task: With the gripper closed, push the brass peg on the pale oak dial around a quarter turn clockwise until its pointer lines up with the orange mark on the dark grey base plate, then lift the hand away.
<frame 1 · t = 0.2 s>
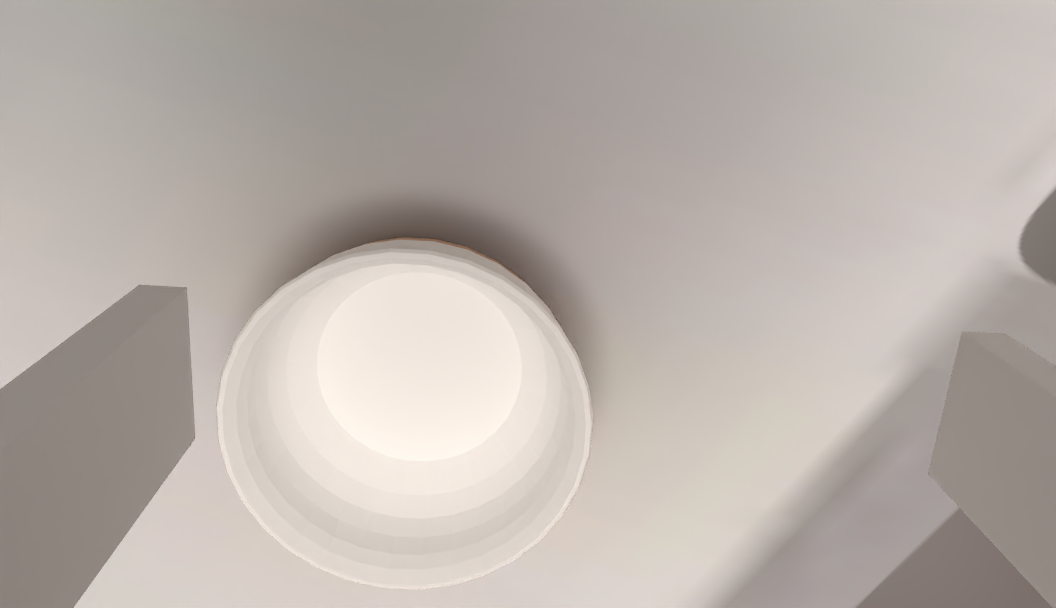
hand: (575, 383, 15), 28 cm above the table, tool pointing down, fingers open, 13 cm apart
bowl: (422, 360, 45), on the table
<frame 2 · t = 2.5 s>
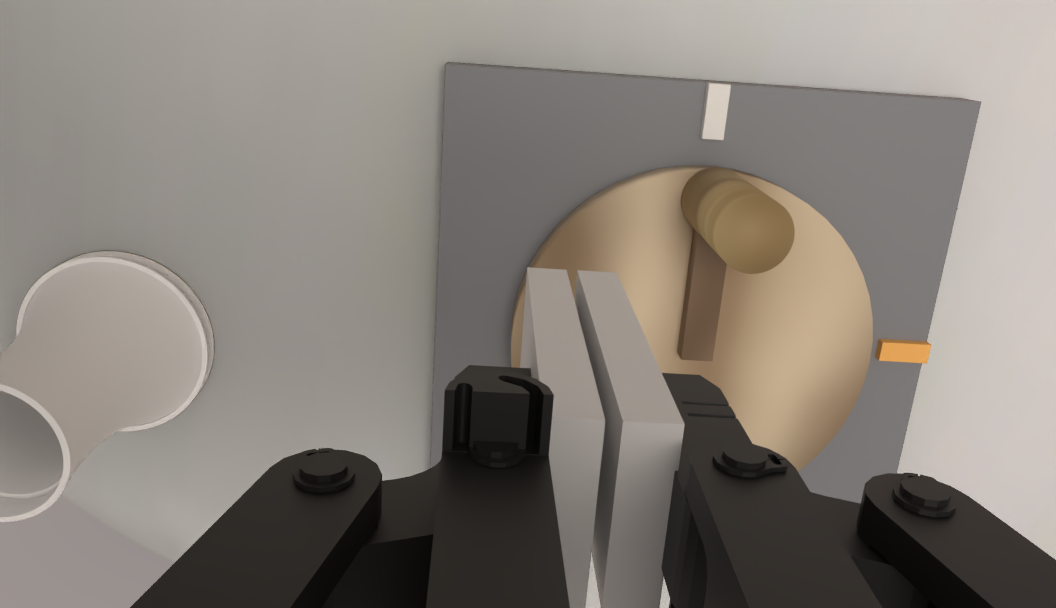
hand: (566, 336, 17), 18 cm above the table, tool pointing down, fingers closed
dial base: (676, 324, 37), on the table
vase: (124, 336, 36), on the table
dial: (704, 370, 32), point 5 cm above the table, hinge at 0.0°
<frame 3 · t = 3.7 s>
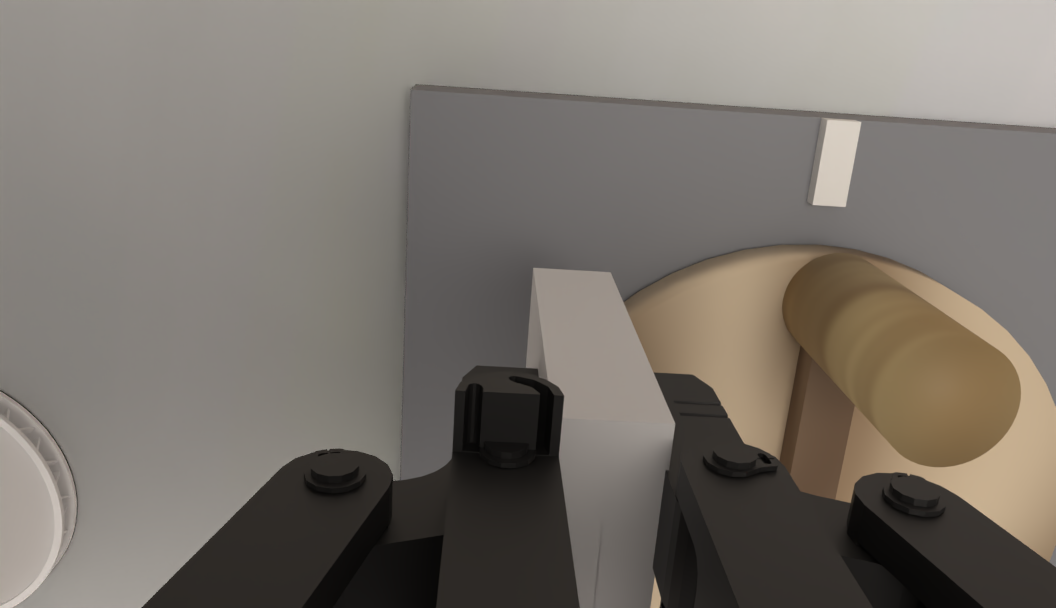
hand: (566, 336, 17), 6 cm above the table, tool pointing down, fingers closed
dial base: (755, 465, 25), on the table
dial: (819, 572, 20), point 5 cm above the table, hinge at 0.0°
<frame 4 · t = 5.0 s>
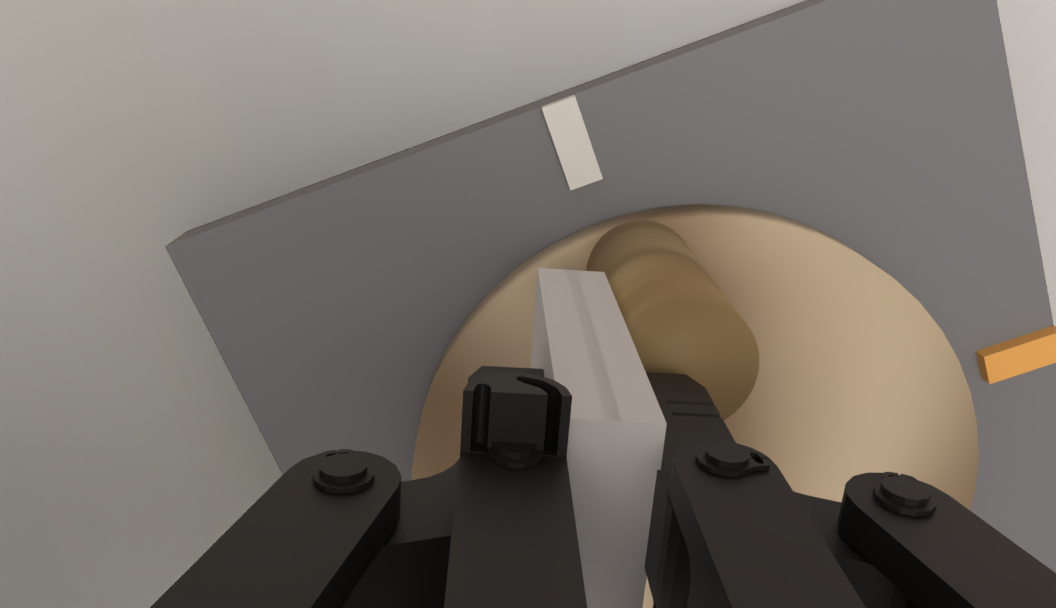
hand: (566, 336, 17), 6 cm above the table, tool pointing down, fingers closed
dial base: (671, 435, 25), on the table
dial: (712, 539, 20), point 5 cm above the table, hinge at -4.4°, touching gripper
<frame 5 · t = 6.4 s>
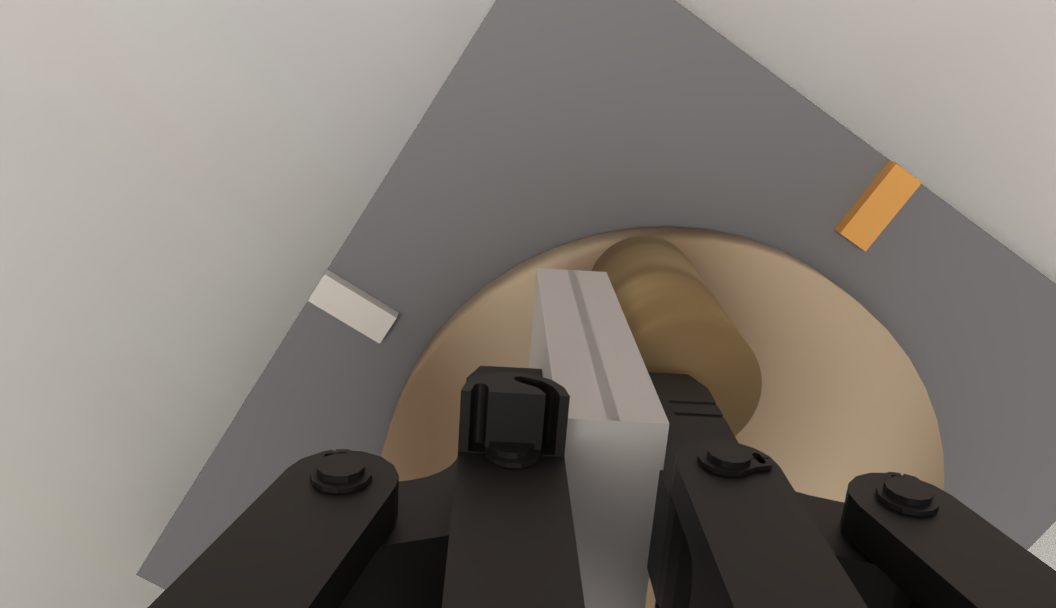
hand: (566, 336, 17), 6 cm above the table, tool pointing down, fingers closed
dial base: (641, 454, 25), on the table
dial: (674, 563, 20), point 5 cm above the table, hinge at -49.2°, touching gripper
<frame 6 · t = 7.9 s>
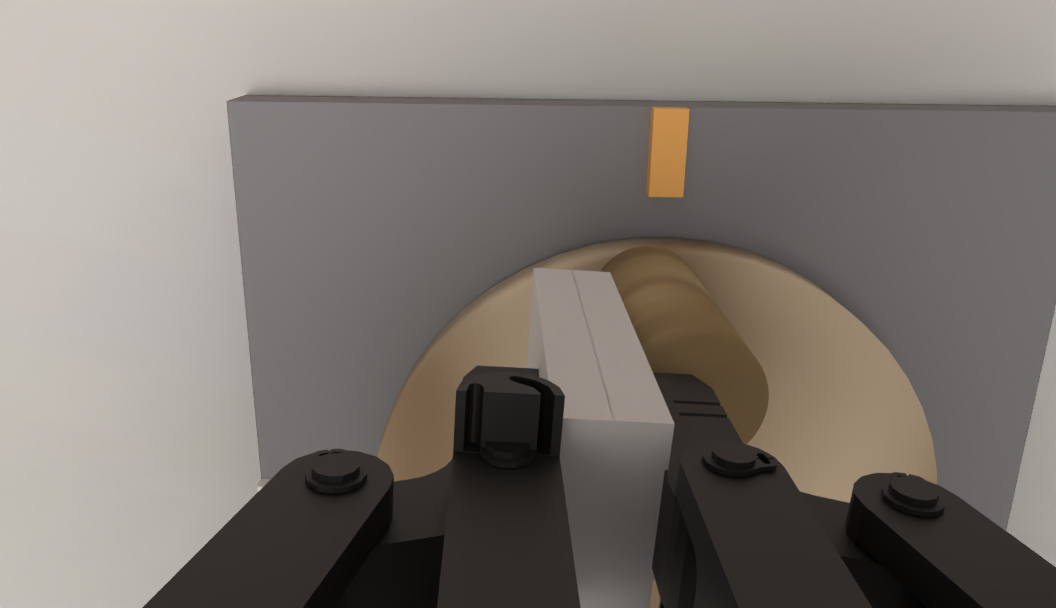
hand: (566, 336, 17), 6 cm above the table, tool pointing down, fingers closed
dial base: (635, 464, 25), on the table
dial: (668, 574, 20), point 5 cm above the table, hinge at -84.5°
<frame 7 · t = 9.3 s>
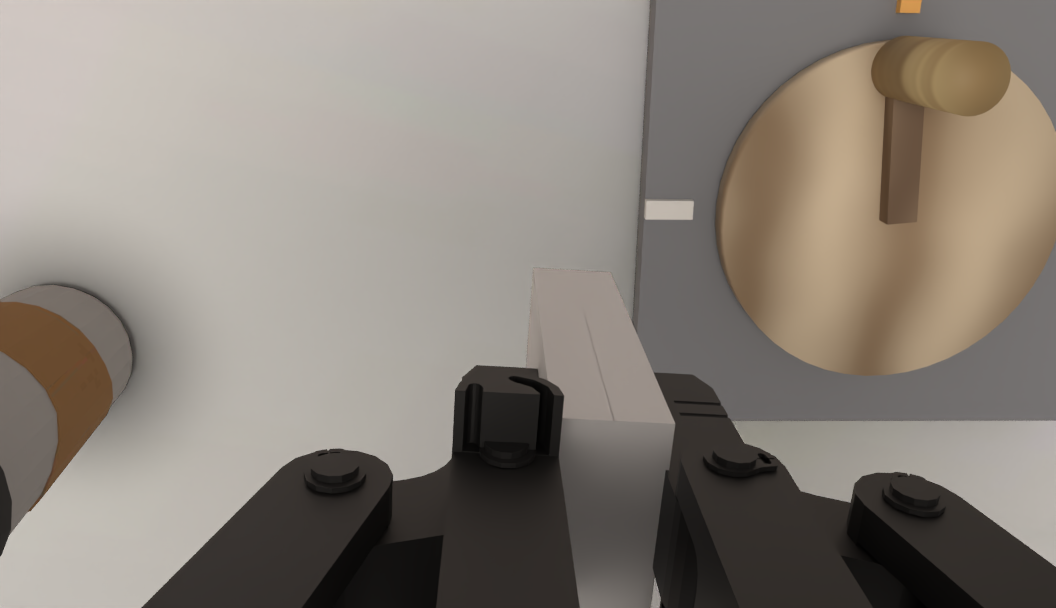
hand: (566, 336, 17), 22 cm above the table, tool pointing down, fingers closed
coffee cup: (69, 345, 40), on the table
dial base: (863, 202, 39), on the table
dial: (915, 228, 34), point 5 cm above the table, hinge at -84.6°
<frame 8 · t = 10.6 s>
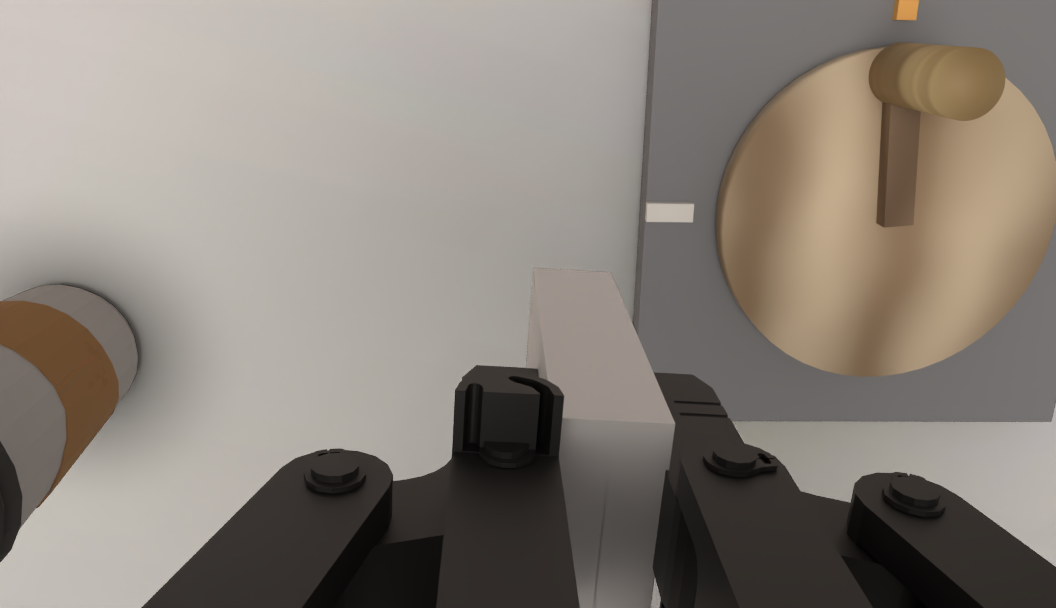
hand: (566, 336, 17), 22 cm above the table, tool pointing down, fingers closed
coffee cup: (75, 344, 41), on the table
dial base: (860, 205, 39), on the table
dial: (912, 231, 34), point 5 cm above the table, hinge at -84.6°
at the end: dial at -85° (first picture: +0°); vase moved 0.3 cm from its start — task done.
